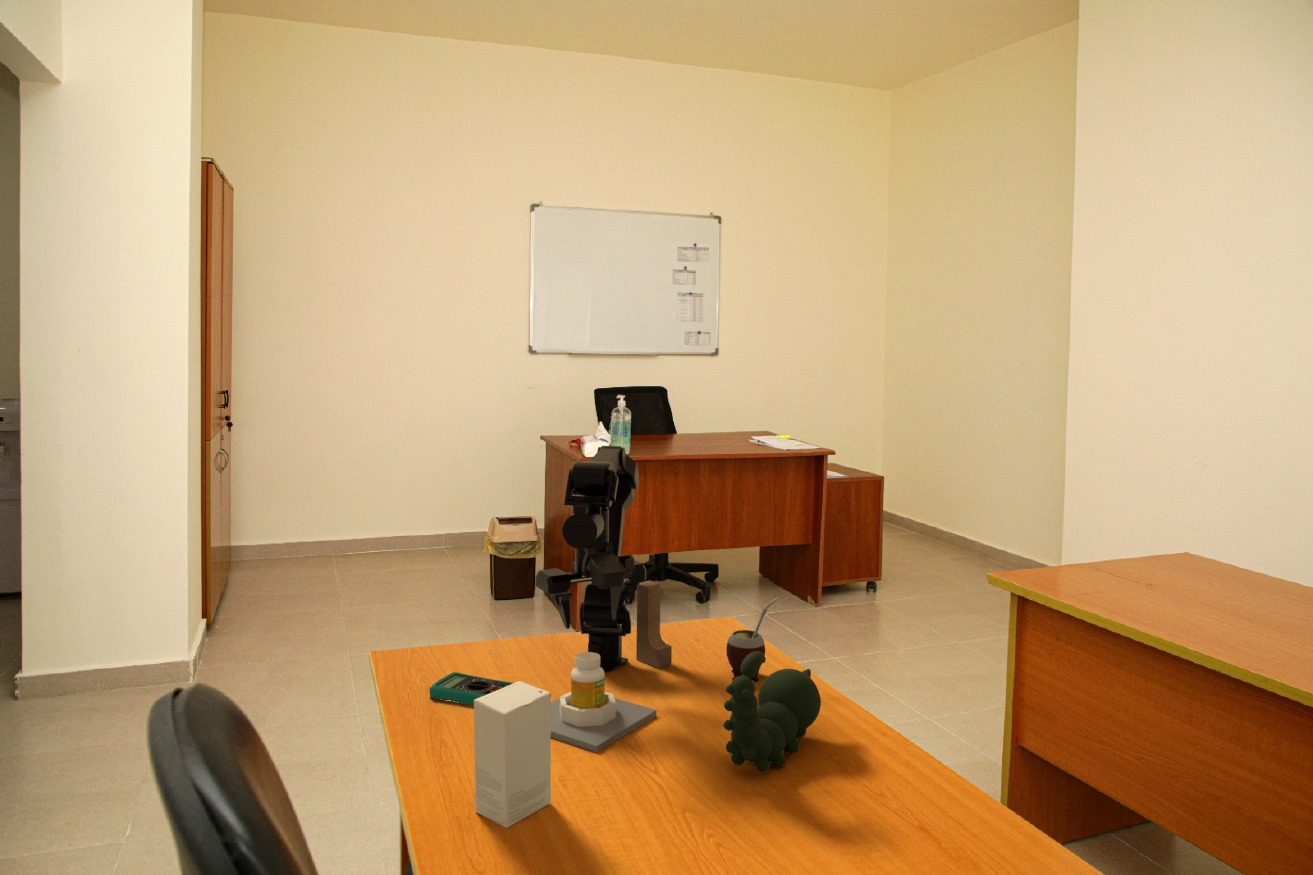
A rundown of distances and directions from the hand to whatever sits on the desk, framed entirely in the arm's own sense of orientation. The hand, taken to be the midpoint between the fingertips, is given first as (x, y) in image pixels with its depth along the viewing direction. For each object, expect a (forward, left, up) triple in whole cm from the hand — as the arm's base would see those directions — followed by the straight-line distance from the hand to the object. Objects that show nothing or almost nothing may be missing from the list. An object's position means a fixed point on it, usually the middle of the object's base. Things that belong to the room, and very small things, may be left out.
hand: (591, 624), depth 157 cm
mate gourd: (-22, +19, -12) cm, 32 cm away
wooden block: (-18, +1, -12) cm, 22 cm away
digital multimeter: (+13, -14, -13) cm, 23 cm away
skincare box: (+37, +16, -12) cm, 42 cm away
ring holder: (+10, +7, -12) cm, 17 cm away
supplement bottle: (+10, +7, -11) cm, 17 cm away
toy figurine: (+3, +37, -12) cm, 39 cm away
